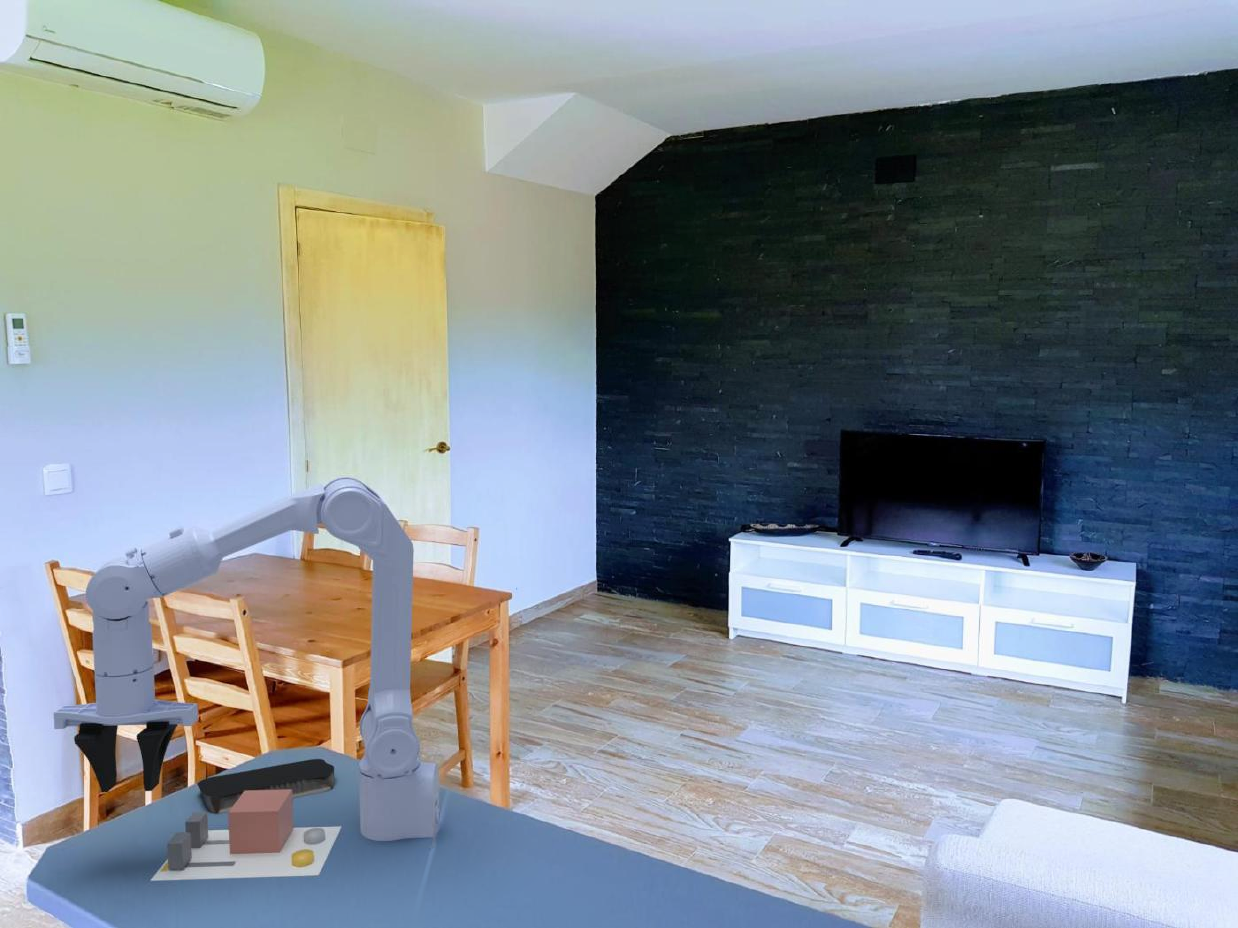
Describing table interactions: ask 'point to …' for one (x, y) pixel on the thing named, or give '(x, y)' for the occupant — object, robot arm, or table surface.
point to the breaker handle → (179, 851)
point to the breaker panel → (216, 862)
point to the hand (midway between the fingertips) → (130, 787)
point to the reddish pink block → (260, 821)
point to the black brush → (267, 782)
